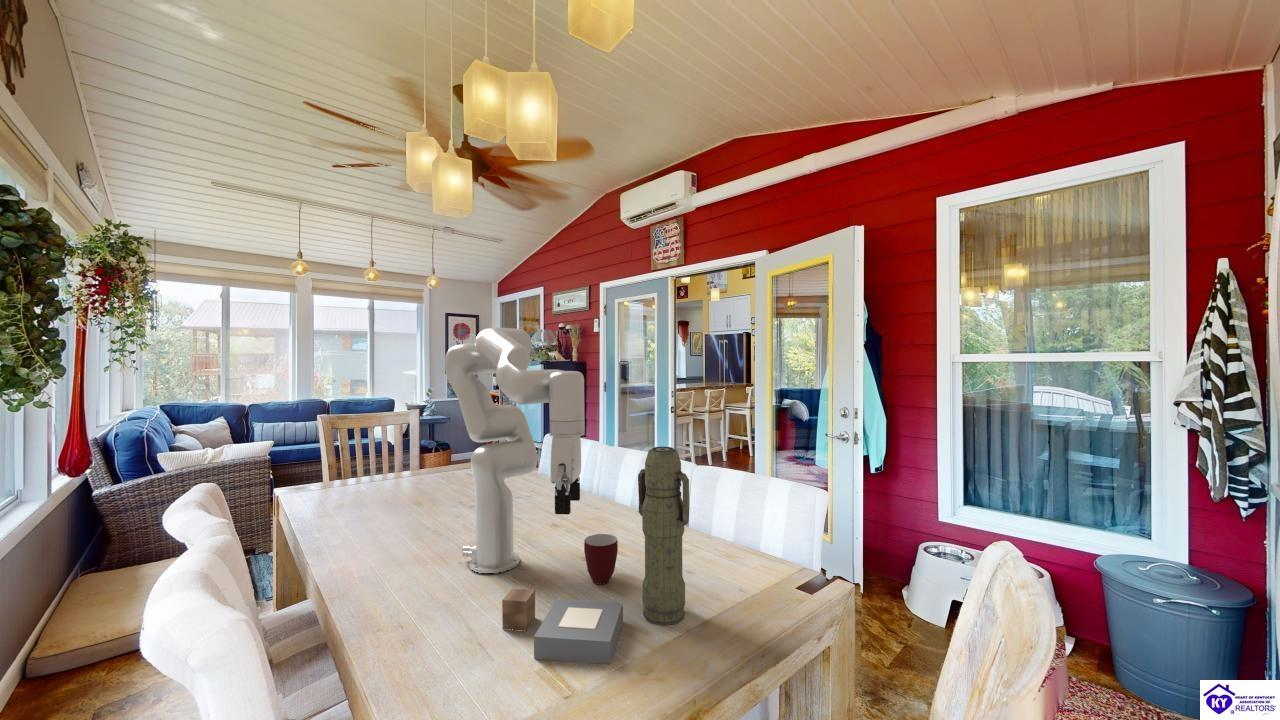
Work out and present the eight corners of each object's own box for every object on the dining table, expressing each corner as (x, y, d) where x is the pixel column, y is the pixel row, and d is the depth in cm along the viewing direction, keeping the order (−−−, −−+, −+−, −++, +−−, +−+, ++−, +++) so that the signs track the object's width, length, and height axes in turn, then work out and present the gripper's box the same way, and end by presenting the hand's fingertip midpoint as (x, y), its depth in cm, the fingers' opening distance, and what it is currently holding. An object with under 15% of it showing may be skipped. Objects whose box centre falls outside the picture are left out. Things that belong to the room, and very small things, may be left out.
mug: (597, 567, 128) (597, 528, 128) (626, 572, 126) (626, 532, 125) (578, 585, 118) (578, 543, 118) (610, 590, 116) (609, 547, 116)
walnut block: (502, 629, 100) (502, 600, 100) (512, 616, 105) (511, 588, 105) (526, 631, 99) (526, 601, 99) (535, 618, 104) (534, 589, 104)
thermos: (648, 598, 112) (647, 443, 111) (697, 611, 106) (696, 447, 106) (628, 617, 104) (627, 449, 104) (680, 632, 98) (679, 455, 98)
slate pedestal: (534, 658, 90) (533, 635, 90) (556, 617, 104) (556, 597, 104) (610, 664, 88) (610, 640, 88) (623, 622, 102) (622, 601, 102)
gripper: (559, 422, 117) (560, 495, 117) (538, 434, 100) (539, 519, 100) (591, 422, 116) (592, 495, 116) (575, 434, 99) (576, 520, 99)
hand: (568, 506), depth 108 cm, fingers open, 9 cm apart
